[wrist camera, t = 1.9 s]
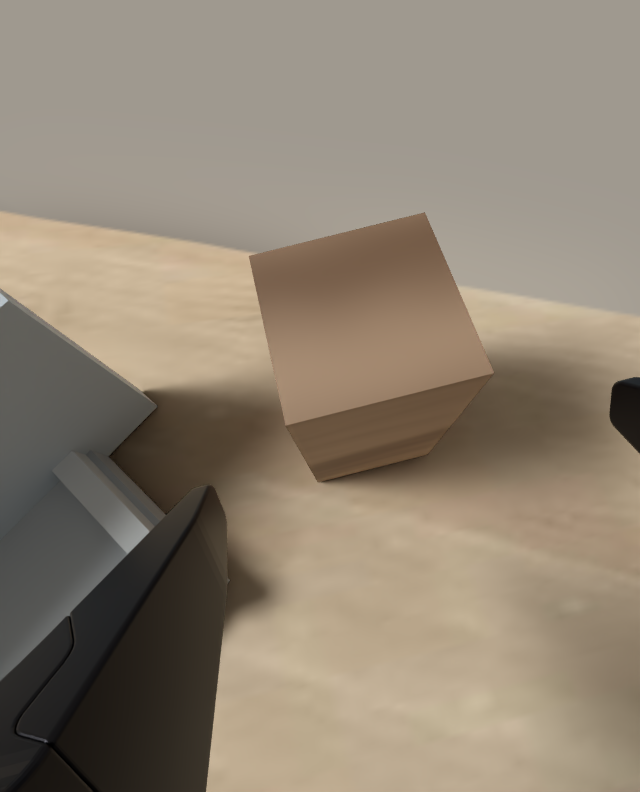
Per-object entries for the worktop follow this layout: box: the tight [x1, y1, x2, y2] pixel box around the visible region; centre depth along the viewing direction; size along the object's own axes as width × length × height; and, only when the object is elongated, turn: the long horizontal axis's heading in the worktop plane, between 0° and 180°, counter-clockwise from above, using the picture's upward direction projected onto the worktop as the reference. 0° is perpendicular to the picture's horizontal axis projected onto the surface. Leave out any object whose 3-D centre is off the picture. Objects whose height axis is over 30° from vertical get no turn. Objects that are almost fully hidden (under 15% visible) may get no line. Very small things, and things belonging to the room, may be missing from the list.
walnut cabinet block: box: [249, 213, 494, 482], centre depth 16 cm, size 6×6×10 cm
